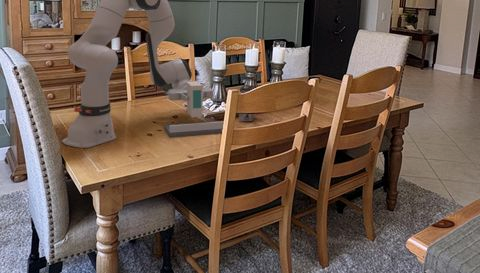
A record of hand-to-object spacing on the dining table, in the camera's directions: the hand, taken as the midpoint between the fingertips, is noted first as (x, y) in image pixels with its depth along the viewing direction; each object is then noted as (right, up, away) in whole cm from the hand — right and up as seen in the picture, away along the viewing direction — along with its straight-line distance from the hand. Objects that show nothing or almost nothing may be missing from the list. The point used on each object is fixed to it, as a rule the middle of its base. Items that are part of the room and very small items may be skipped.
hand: (194, 98), depth 218 cm
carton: (0, -7, +3) cm, 8 cm away
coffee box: (+23, -9, +23) cm, 34 cm away
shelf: (0, -14, +4) cm, 15 cm away
